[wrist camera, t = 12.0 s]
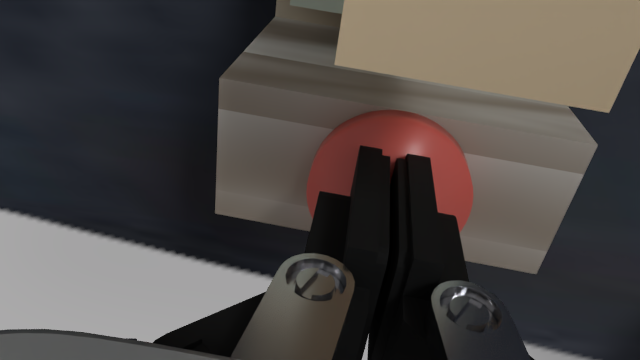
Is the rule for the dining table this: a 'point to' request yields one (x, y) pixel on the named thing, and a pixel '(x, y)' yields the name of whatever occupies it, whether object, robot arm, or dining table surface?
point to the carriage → (495, 44)
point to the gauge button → (393, 157)
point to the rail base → (389, 94)
